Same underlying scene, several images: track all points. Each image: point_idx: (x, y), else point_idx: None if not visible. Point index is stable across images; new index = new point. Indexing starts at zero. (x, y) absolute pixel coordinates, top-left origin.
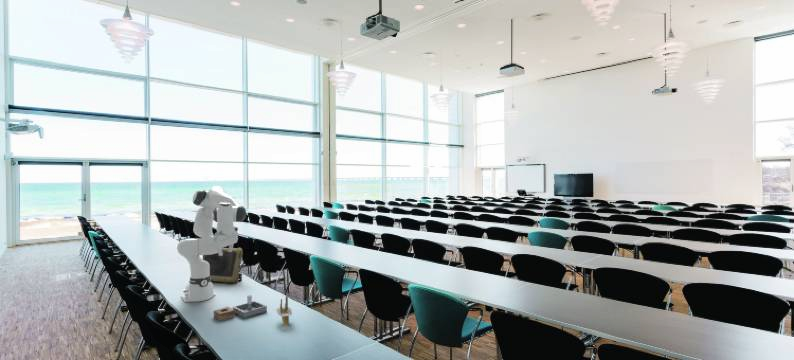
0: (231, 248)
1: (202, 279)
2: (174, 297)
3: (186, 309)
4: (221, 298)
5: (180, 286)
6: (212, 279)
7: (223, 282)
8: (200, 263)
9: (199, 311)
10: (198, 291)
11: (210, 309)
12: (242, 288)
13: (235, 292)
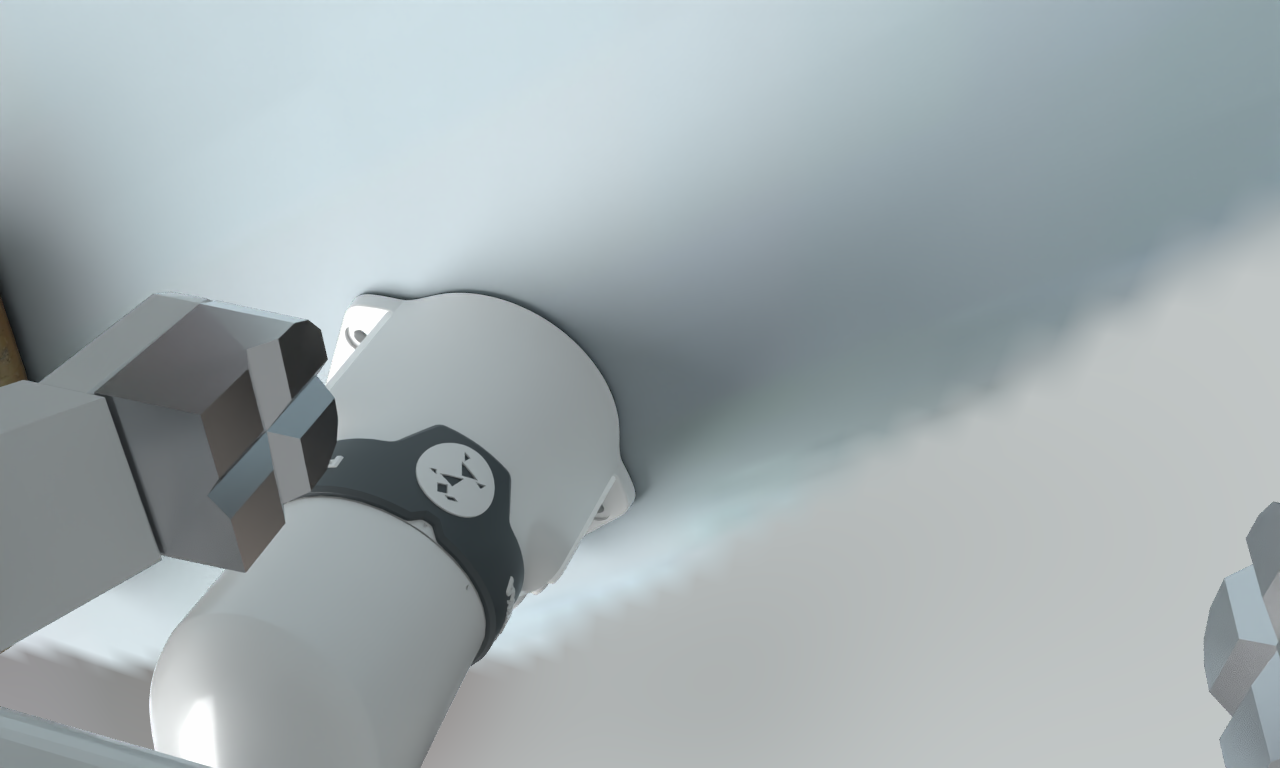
0: (88, 417)
1: (452, 530)
2: (521, 618)
3: (864, 405)
4: (449, 171)
5: None
6: None
7: (23, 367)
8: (324, 754)
9: (947, 233)
10: (546, 460)
11: (872, 122)
12: (55, 71)
13: (207, 93)
